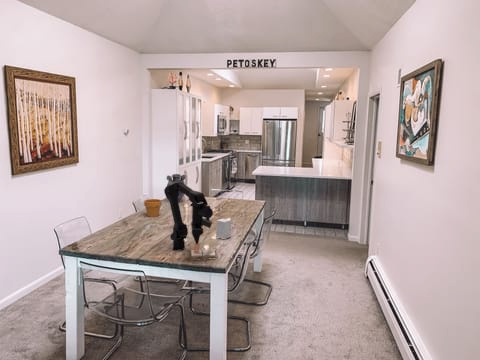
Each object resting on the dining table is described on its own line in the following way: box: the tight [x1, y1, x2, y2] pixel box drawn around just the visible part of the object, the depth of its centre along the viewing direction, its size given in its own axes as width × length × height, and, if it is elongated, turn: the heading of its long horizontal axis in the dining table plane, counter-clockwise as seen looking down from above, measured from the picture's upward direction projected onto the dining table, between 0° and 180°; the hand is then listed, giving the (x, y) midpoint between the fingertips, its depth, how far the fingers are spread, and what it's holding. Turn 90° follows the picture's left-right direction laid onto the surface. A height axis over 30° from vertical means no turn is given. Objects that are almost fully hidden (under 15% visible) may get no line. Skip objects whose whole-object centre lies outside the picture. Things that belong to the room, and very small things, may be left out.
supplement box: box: [215, 218, 232, 239], centre depth 240 cm, size 7×7×13 cm
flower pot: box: [143, 198, 163, 218], centre depth 294 cm, size 14×14×13 cm
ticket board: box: [184, 249, 218, 261], centre depth 205 cm, size 18×12×2 cm, turn 99°
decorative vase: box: [166, 173, 186, 204], centre depth 351 cm, size 21×19×28 cm
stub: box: [190, 242, 203, 256], centre depth 204 cm, size 6×9×6 cm, turn 9°
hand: (196, 241), depth 204 cm, fingers open, 9 cm apart
